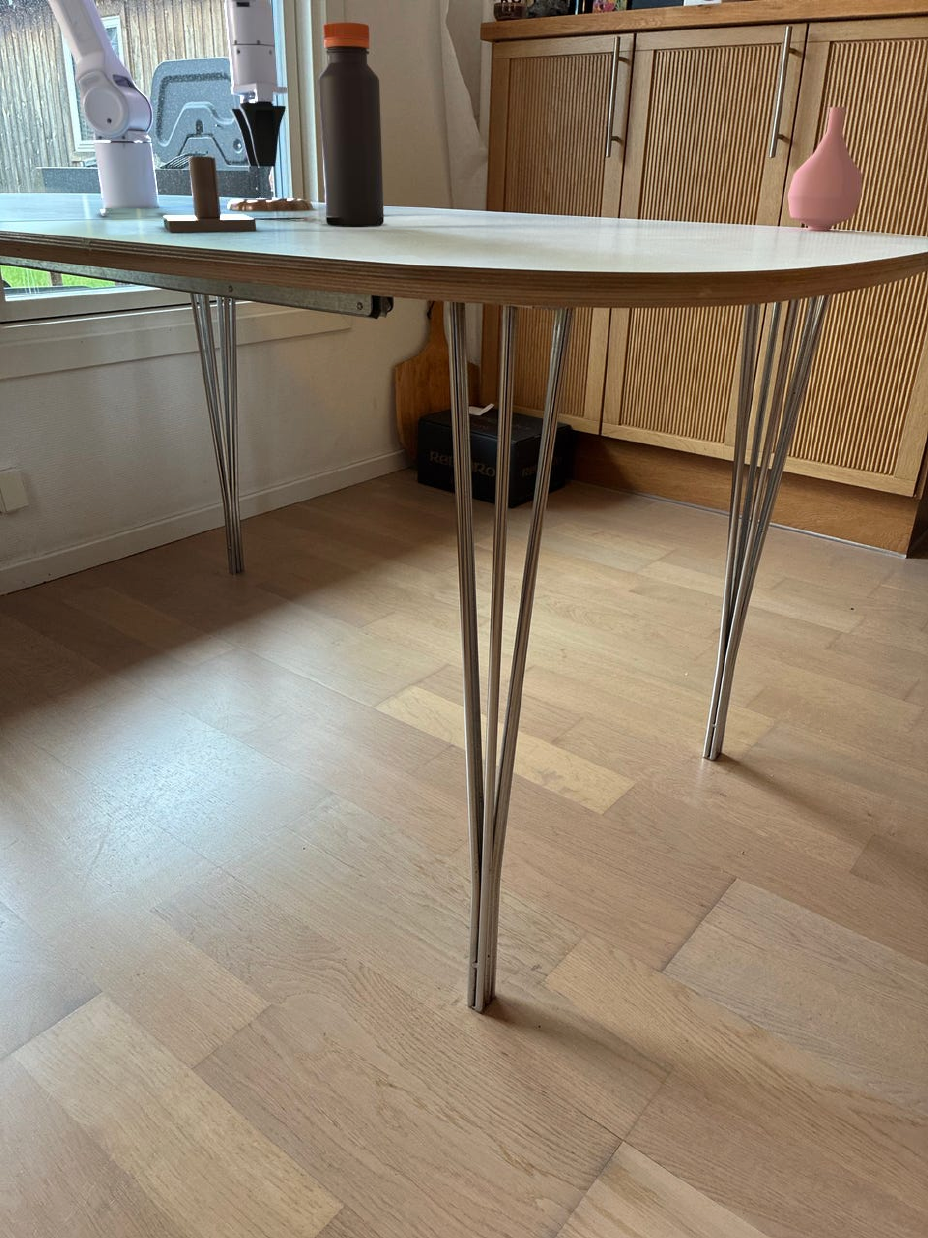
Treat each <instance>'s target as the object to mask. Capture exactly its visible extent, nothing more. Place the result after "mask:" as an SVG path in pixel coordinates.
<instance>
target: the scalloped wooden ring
mask: <svg viewBox="0 0 928 1238" xmlns="http://www.w3.org/2000/svg"><path fill="white" fill-rule="evenodd" d="M226 209H227V210H228V211H235V212H236V211H238V212H294V211H295V212H296V211H309V210H313V209H314V206H313V204H312V203H311V201H310V200H308V199H304V198H289V197H288V198H287V197H264V198H263V197H262V198H261V197H259V198H258V197H257V198H255V197H254V198H253V197H252V198H236V199H235V198H234V199H231V200H230V201H229V202H228V204H227V207H226ZM252 218H253V217H252ZM306 218H307V217H303V219H306ZM253 219H255V221H257V220H259V221H274V220H277V221H278V220H300V219H302V217H258V218H257V217H256V218H255V217H254V218H253Z"/></svg>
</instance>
